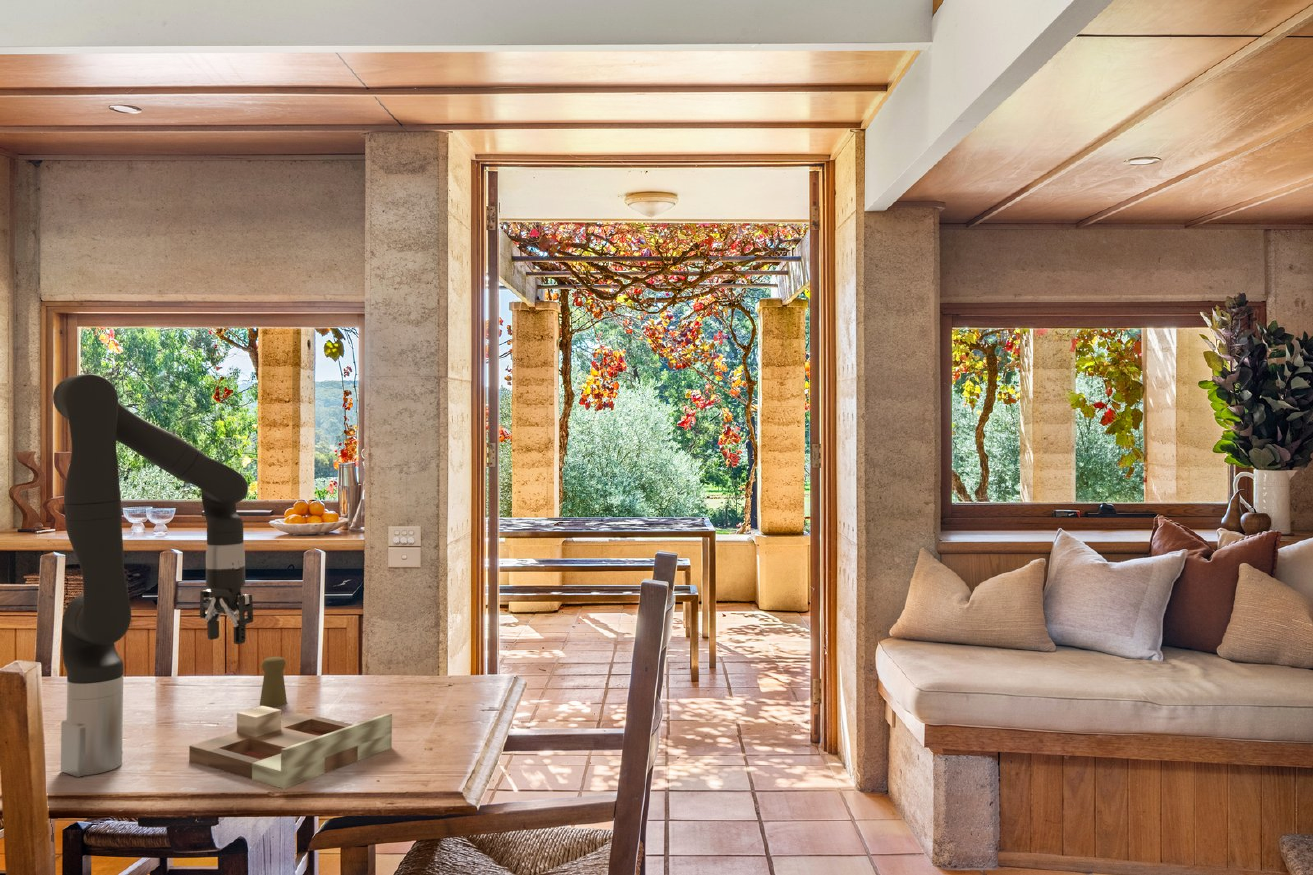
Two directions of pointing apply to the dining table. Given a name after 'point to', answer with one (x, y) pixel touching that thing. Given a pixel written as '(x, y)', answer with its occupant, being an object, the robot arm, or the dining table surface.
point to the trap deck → (295, 748)
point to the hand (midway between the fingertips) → (226, 641)
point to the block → (258, 721)
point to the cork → (273, 682)
